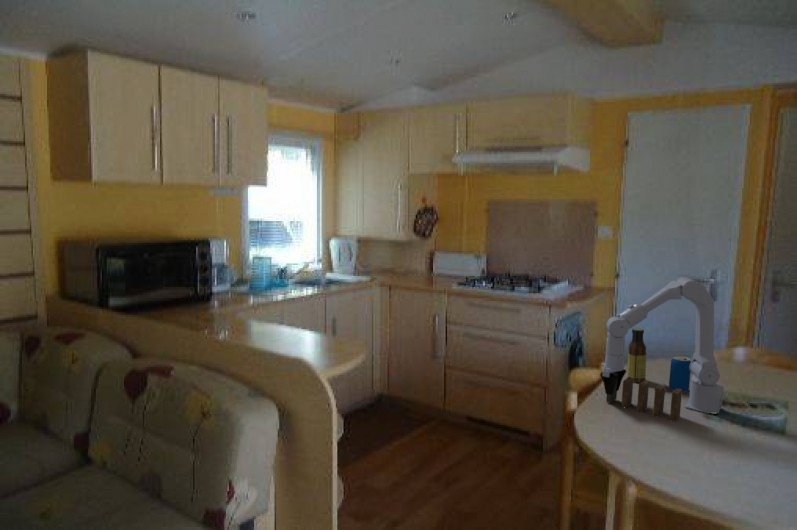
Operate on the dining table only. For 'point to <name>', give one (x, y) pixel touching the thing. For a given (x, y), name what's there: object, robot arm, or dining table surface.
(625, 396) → the domino
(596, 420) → the dining table surface
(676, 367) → the beverage can
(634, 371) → the sauce bottle
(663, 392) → the domino
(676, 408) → the domino
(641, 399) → the domino
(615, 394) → the domino
